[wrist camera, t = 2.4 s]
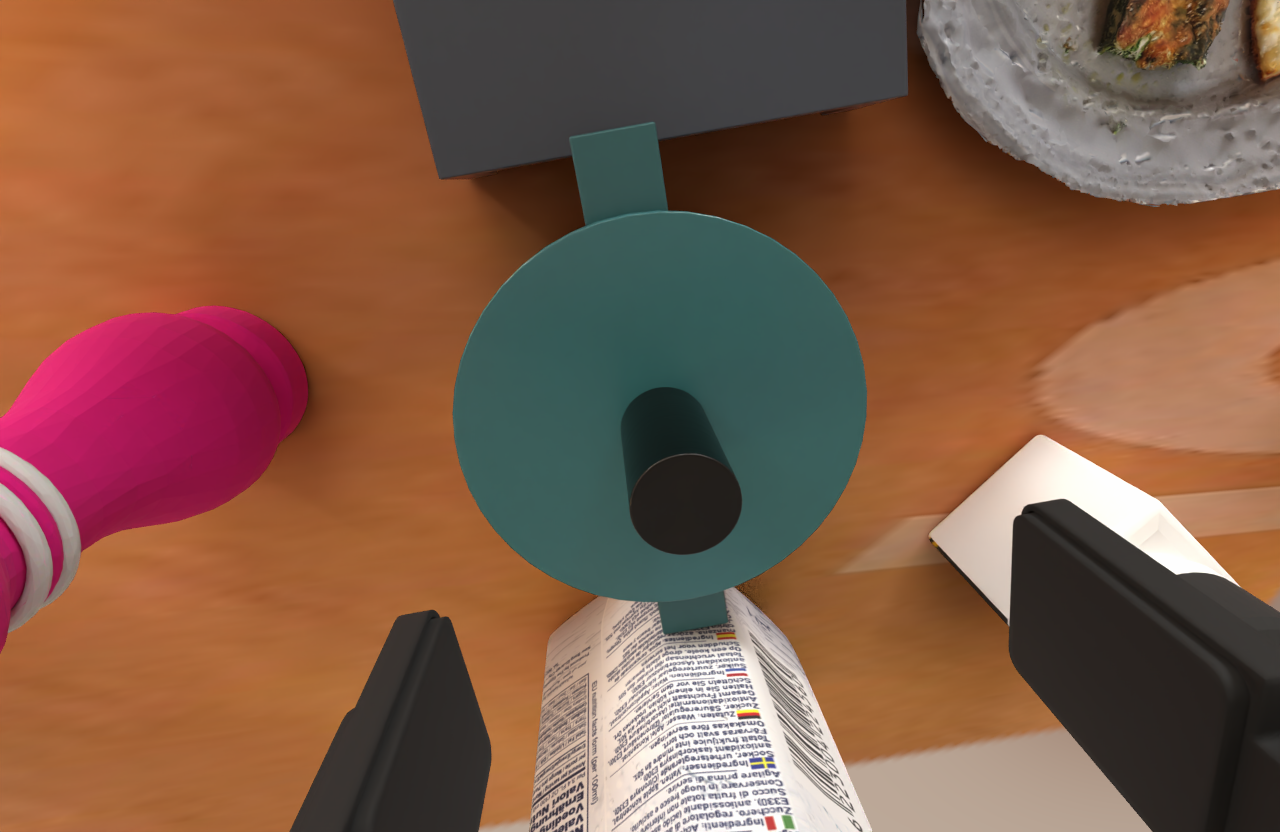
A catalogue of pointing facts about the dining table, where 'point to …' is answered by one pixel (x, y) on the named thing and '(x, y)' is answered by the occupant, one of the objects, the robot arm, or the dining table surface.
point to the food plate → (1119, 90)
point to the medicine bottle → (1054, 472)
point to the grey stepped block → (636, 69)
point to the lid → (659, 406)
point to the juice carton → (683, 729)
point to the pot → (616, 185)
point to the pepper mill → (136, 437)
